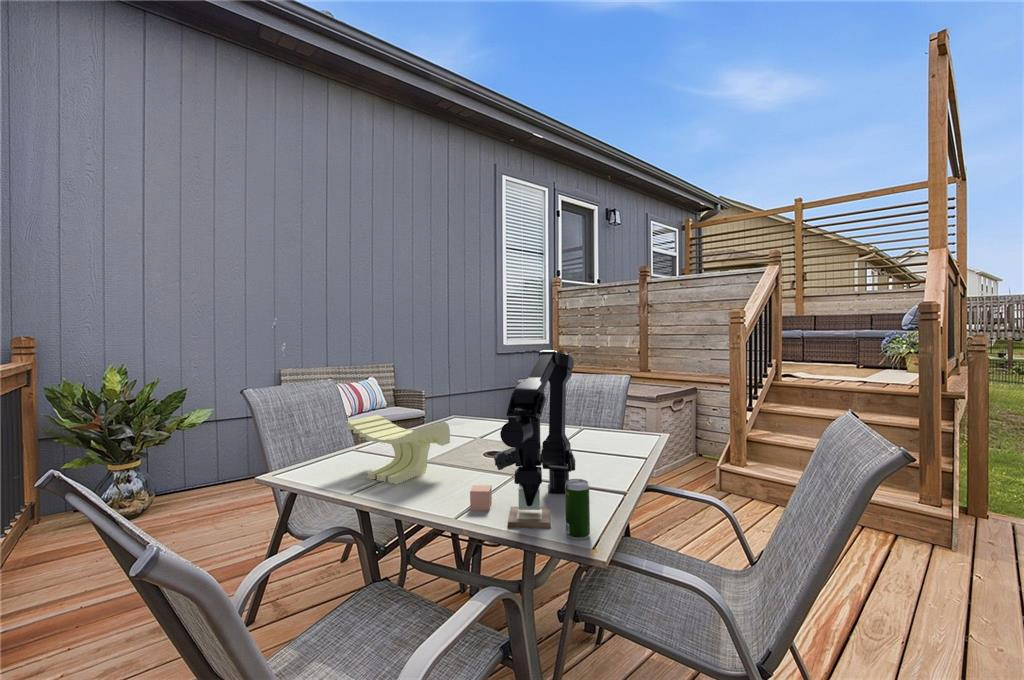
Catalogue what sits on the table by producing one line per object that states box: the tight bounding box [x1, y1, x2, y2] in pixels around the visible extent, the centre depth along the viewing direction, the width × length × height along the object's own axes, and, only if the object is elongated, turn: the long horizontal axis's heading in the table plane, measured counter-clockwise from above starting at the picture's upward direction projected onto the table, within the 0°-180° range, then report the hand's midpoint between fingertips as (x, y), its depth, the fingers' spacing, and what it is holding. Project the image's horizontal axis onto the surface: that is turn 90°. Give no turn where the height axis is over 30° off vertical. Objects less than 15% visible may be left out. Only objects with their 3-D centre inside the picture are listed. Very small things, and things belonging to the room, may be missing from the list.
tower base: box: [507, 506, 551, 529], centre depth 112 cm, size 10×10×1 cm
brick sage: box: [518, 484, 541, 510], centre depth 112 cm, size 5×5×5 cm
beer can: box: [564, 478, 591, 541], centre depth 102 cm, size 5×5×12 cm
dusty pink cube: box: [469, 484, 493, 511], centre depth 121 cm, size 5×5×5 cm
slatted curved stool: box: [347, 414, 451, 485], centre depth 151 cm, size 30×16×18 cm, turn 60°
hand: (529, 501), depth 112 cm, fingers closed on brick sage, 5 cm apart
